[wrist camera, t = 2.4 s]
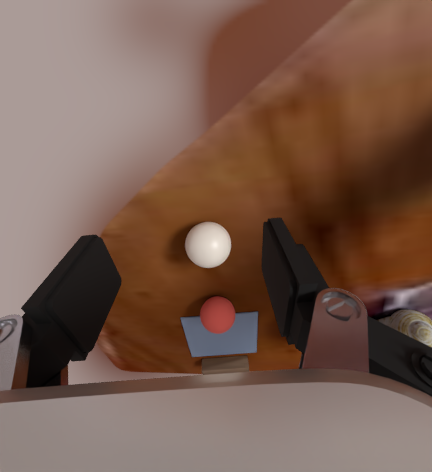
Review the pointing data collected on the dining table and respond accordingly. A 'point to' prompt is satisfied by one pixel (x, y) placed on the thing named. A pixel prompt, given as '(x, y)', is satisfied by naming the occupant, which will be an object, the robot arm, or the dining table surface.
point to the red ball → (217, 314)
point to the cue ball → (208, 244)
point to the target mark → (222, 336)
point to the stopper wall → (225, 365)
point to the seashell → (411, 325)
